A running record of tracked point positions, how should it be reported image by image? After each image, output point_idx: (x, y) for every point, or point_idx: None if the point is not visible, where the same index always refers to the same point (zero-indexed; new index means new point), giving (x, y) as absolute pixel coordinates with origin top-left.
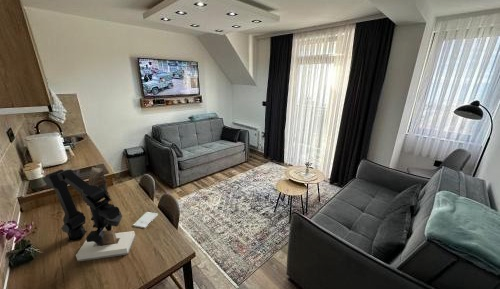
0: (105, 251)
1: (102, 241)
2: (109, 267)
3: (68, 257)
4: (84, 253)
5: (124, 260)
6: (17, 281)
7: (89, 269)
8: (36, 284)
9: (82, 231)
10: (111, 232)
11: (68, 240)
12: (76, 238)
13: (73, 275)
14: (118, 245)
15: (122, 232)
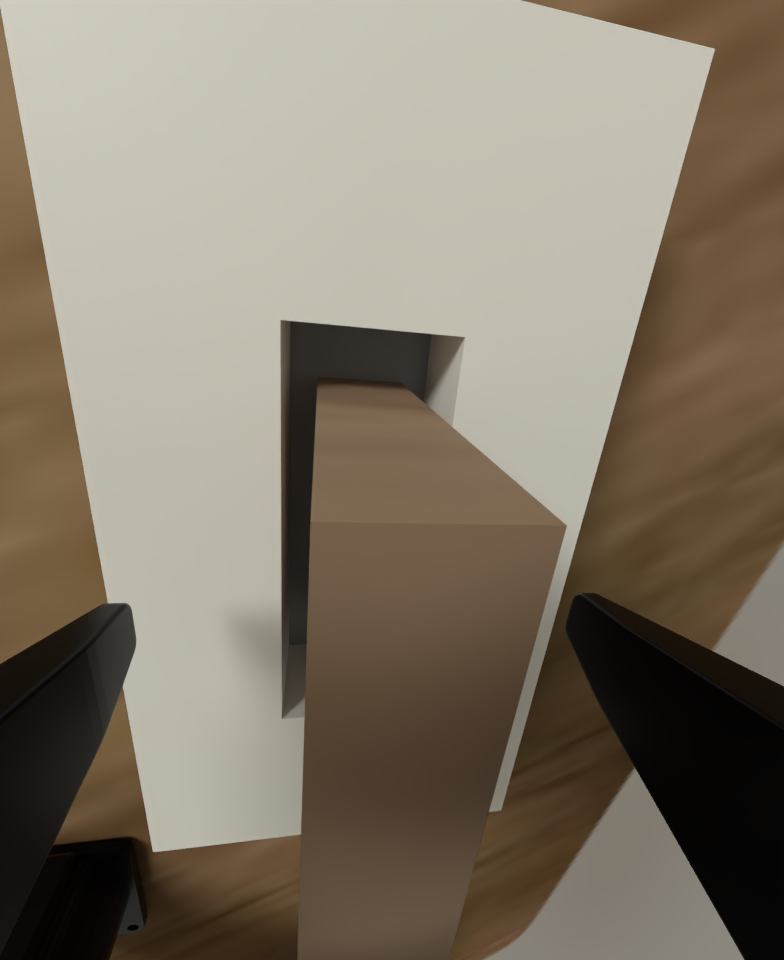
0: (583, 500)
1: (768, 687)
2: (705, 371)
3: None
4: (510, 745)
5: (690, 173)
6: (511, 928)
7: (621, 576)
8: (588, 837)
9: (19, 952)
10: (466, 593)
11: (141, 924)
12: (117, 889)
13: None
14: (532, 295)
15: (62, 311)
